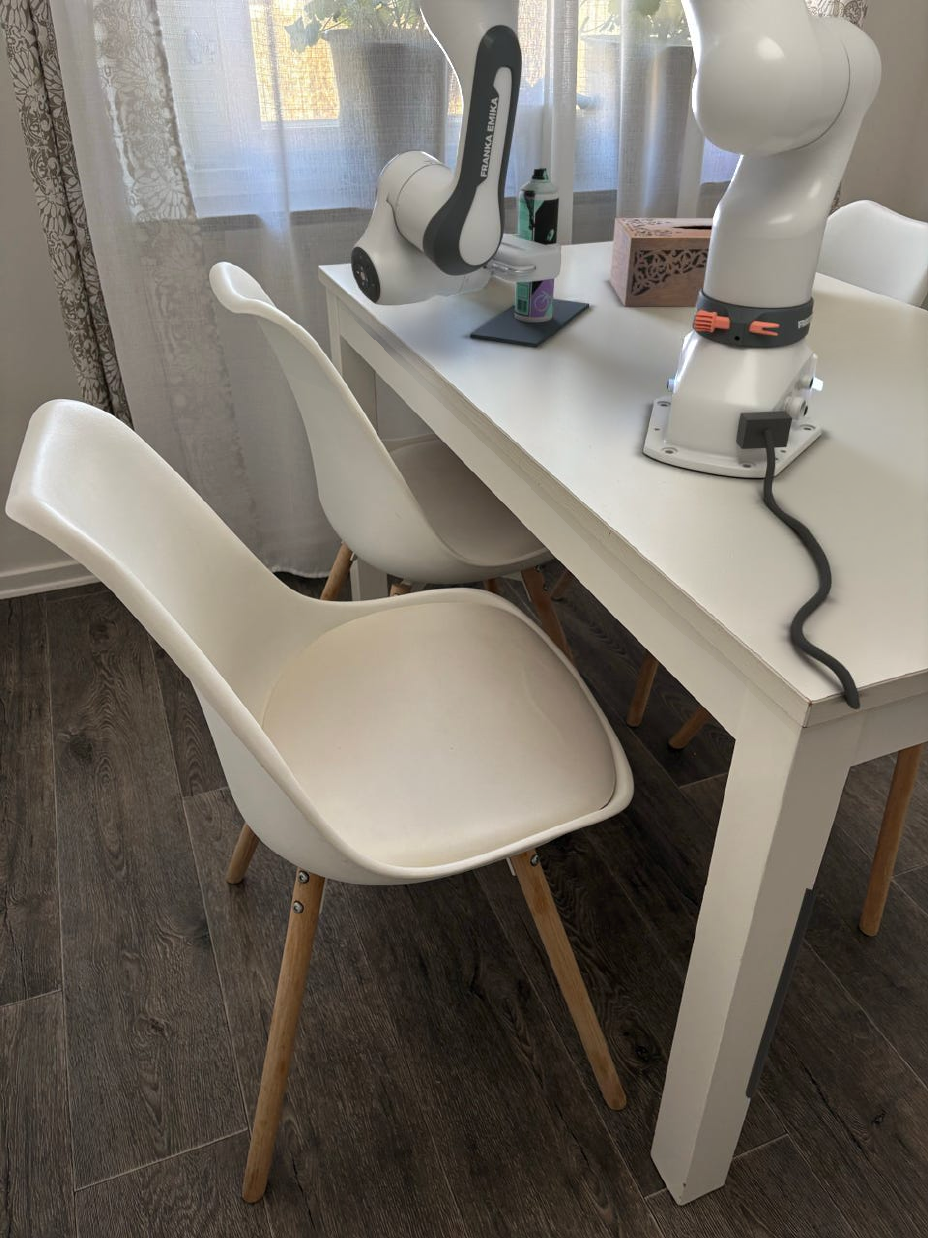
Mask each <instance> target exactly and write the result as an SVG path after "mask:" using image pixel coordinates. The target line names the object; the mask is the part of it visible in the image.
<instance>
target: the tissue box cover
mask: <svg viewBox="0 0 928 1238" xmlns="http://www.w3.org/2000/svg"><path fill="white" fill-rule="evenodd" d="M712 224H713V217H615V218H614V230H613V238H612V239H613V240H612V249H611V250H612V251H611V261H610V262H611V263H610V275H609V284H610V285H611V287H612V288H613V290H614V291H615V293H616V295H617V297H618V298H619V299H620V300H621V303H622V304H623V306H624V307H695V305H696V302H697V300H698V295H699V291H700V289H702V288H703V287H704V280H705V273H706V266H707V259H708V252H709V245H710V238H711V231H712Z"/></svg>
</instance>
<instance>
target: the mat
mask: <svg viewBox="0 0 928 1238" xmlns="http://www.w3.org/2000/svg"><path fill="white" fill-rule="evenodd" d="M588 308H590V303H589V302H580V301H574V300H573V301H572V300H567V299H566V300H565V299H557V298H553V310H552V318H551V319H550V320H548V321H545V322H525V321H521V320H518V319H516V318H515V304H514V305H512V306H510V307H509V308H507V309H506V310H505V311H503V312H502V313H500V314H498V315H497V316H495V317H494V318H492V319H490V320H489V321H487V322H486V323H485V324H483V325H481V326H479V327H478V328H476V329H475V330H474V331H472V332H471V333H470V334H469V337H470V338H472V339H478V340H479V339H480V340H485V341H493V342H500V343H505V344H511V345H520V346H526V347H533V348H538V347H539V346H540V345H542V344H543V343H544V342H545V341H547V340H549V338H551V337H552V336H553V335H554V334H556V333H557V332H558V331H560V330H561V329H562V328H564V327H565V326H566V325H568V324H569V323H570V322H571V321H573V320H574V319H575V318H576V317H577V316H579V315H580V314H581V313H583V312H584V311H586V310H587V309H588Z"/></svg>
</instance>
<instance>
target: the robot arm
mask: <svg viewBox="0 0 928 1238" xmlns="http://www.w3.org/2000/svg"><path fill="white" fill-rule="evenodd" d="M680 1H681V5H682V7H683V10H684V13H685V17H686V21H687V25H688V29H689V34H690V39H691V45H692V49H693V56H694V61H695V67H696V73H695V78H694V81H693V85H692V86H693V87H692V94H691V95H692V97H691V98H692V99H691V100H692V111H693V116H694V119H695V122H696V124H697V127H698V128H699V130H700V132H701V133H702V135H703V137H704V138H705V139H706V140H707V141H709V142H710V143H711V144H712V145H713V146H715V147H717V148H718V149H721V150H723V151H727V152H730V153H733V154H736V155H740V156H739V159H738V162H737V164H736V168H735V171H734V173H733V175H732V177H731V180H730V183H729V185H728V187H727V189H726V191H725V193H724V195H723V197H722V198H721V199H720V201H719V202H718V204H717V207H716V208H715V210H714V214H713V217H712V218H713V224H712V231H711V238H710V245H709V252H708V259H707V266H706V273H705V280H704V287H703V288H702V289H700V291H699V295H698V300H697V302H696V305H695V306H694V310H693V311H694V313H693V314H694V316H693V320H692V324H691V326H692V330H691V331H690V332H688V333H686V334H685V335H684V336H683V337H681V341H680V350H679V357H678V365H677V371H676V373H675V374H676V375H675V378H674V379H672V378H669V379H668V381H667V382H666V390H667V392H669V393H672V395H666V396H665V395H664V396H659V397H656V398H655V399H654V401H653V406H652V410H651V414H650V418H649V422H648V423H649V424H648V427H647V431H646V436H645V440H644V444H643V449H642V451H643V454H644V455H646V456H648V457H650V458H652V459H654V460H657V461H660V462H662V463H665V464H668V465H672V466H676V467H680V468H684V469H688V470H693V471H698V472H701V473H709V474H715V475H722V476H726V477H727V476H729V477H738V478H750V479H751V478H752V479H753V478H754V479H755V478H758V479H760V478H761V479H762V478H763V479H764V480H763V498H764V501H765V503H766V506H767V508H768V509H769V510H770V512H772V513H773V515H775V516H776V517H777V518H778V519H779V520H781V522H782V523H784V524H785V525H786V526H788V527H790V528H792V529H793V530H795V531H796V532H797V533H798V534H799V535H800V536H801V537H802V539H803V540H804V542H805V543H806V545H807V547H808V548H809V550H810V551H811V553H812V555H813V556H814V558H815V560H816V562H817V564H818V567H819V570H820V585H819V586H820V587H819V589H818V590H817V591H816V593H815V594H814V595H813V596H812V597H810V599H808V600H807V601H806V602H805V603H804V604H803V605H802V606H801V607H800V608H799V609H798V611H797V612H796V613H795V614H794V617H793V618H792V621H791V626H790V630H791V636H792V640H793V642H794V644H795V645H796V646H797V648H798V649H800V650H801V651H802V653H805V654H806V655H808V656H810V657H811V658H813V659H815V660H816V661H818V662H820V663H821V664H823V665H824V666H825V667H827V669H829V670H830V671H831V672H832V673H834V675H835V676H836V677H837V678H838V680H839V682H840V684H841V687H842V688H843V691H844V695H845V699H846V704H847V706H848V707H850V708H851V709H853V710H859V709H860V707H861V702H860V701H861V700H860V696H859V692H858V689H857V685H856V683H855V680H854V678H853V676H852V675H851V673H850V671H848V669H847V668H846V667H845V665H843V663H841V662H840V661H839V660H838V659H836V658H835V657H834V656H832V655H831V654H829V653H828V652H826V651H825V650H822V649H821V648H819V647H817V646H816V645H814V644H812V643H811V642H810V641H809V640H808V639H807V638H806V636H805V635H804V630H803V628H804V627H803V626H804V623H805V621H806V619H807V618H808V617H809V616H810V615H811V614H812V613H813V611H815V610H816V609H817V608H818V607H819V606H820V605H821V604H822V603H823V602H824V601H825V600H826V598H827V597H828V595H829V593H830V591H831V590H832V584H833V578H832V577H833V576H832V571H831V570H832V569H831V565H830V562H829V560H828V557H827V555H826V553H825V552H824V549H823V548H822V547H821V545H820V543H819V542H818V540H817V538H816V537H815V536H814V534H813V533H812V532H811V531H810V529H809V528H808V527H807V526H806V525H805V524H803V523H802V522H801V521H799V520H797V519H796V518H794V517H793V516H791V515H789V514H788V513H786V512H785V511H784V510H783V509H782V508H781V507H780V506H779V505H778V504H777V501H776V500H775V497H774V493H773V483H774V478H775V477H776V476H777V475H779V474H780V473H781V472H782V471H783V470H784V469H785V468H786V467H787V466H789V465H790V464H791V463H792V462H793V461H794V460H795V459H797V457H799V456H800V455H801V454H802V453H803V452H804V451H805V450H806V449H807V448H808V447H810V446H811V445H812V444H813V443H814V442H815V441H816V440H817V439H818V438H819V437H820V436H821V435H822V429H823V425H822V423H820V422H819V421H817V420H815V419H814V418H811V417H809V410H810V403H811V399H812V394H813V389H816V390H817V391H822V389H823V383H824V381H822V380H820V379H818V378H817V377H816V371H817V366H818V365H817V364H818V355H817V354H816V353H815V351H814V350H813V349H812V348H811V347H810V344H809V342H808V341H807V338H806V337H807V336H808V334H809V332H810V328H811V322H812V320H813V315H814V303H815V298H813V296H812V292H813V288H814V283H815V278H816V273H817V270H818V269H817V268H818V263H819V259H820V254H821V249H822V244H823V240H824V234H825V231H826V226H827V222H828V218H829V216H830V212H831V209H832V206H833V204H834V200H835V197H836V194H837V191H838V189H839V186H840V184H841V181H842V179H843V176H844V174H845V171H846V169H847V165H848V162H849V160H850V157H851V154H852V151H853V148H854V146H855V143H856V140H857V137H858V133H859V131H860V128H861V125H862V122H863V120H864V117H865V116H866V114H867V112H868V110H869V108H870V107H871V106H872V103H873V102H874V100H875V99H876V96H877V94H878V92H879V88H880V85H881V80H882V71H883V70H882V69H883V68H882V59H881V55H880V52H879V50H878V47H877V45H876V44H875V42H874V41H873V39H872V38H871V36H869V35H868V34H867V33H866V32H865V31H864V30H862V29H861V28H860V27H858V26H857V25H855V24H854V23H852V22H850V21H849V20H846V19H844V18H841V17H836V16H820V17H819V16H815V15H813V13H812V12H811V10H810V9H809V7H808V4H807V1H806V0H680ZM418 6H419V10H420V12H421V15H422V19H423V21H424V23H425V25H426V27H427V29H428V30H429V33H430V34H431V36H432V37H433V39H434V40H435V41H436V43H437V44H438V45H439V47H440V48H441V50H442V51H443V53H444V54H445V56H446V58H447V60H448V62H449V64H450V65H451V66H450V67H451V68H452V69H453V72H454V74H455V76H456V79H457V82H458V85H459V89H460V94H461V101H462V102H461V103H462V104H461V105H462V109H461V120H460V127H459V136H458V141H457V149H456V157H455V165H454V171H453V170H452V169H451V168H450V167H448V166H447V165H445V164H444V163H442V161H439V160H438V159H436V158H435V157H434V156H432V155H430V154H428V153H427V152H426V151H424V150H420V149H410V150H409V149H408V150H405V151H403V152H401V153H399V154H397V155H396V156H394V157H393V158H392V159H390V161H388V162H387V163H386V165H385V166H384V167H383V169H382V171H381V172H380V174H379V176H378V179H377V183H376V187H375V188H376V189H375V204H374V207H373V211H372V214H371V218H370V220H369V222H368V225H367V228H366V230H365V232H364V233H363V234H362V236H361V237H360V238H359V239H358V241H357V242H356V243H355V244H354V245H353V248H352V249H351V254H350V267H351V272H352V276H353V279H354V280H355V283H356V285H357V287H358V289H359V290H360V291H361V293H362V294H363V295H364V296H365V297H366V298H367V299H368V300H369V301H371V302H372V303H373V304H375V305H378V306H387V307H388V306H402V305H410V304H416V303H422V302H426V301H428V300H431V299H433V298H434V297H436V296H437V297H438V296H442V297H453V296H458V295H462V294H467V293H473V292H477V291H481V290H483V289H484V288H485V287H486V286H487V285H488V283H489V282H490V279H491V277H493V276H494V277H497V278H500V279H503V280H505V281H509V282H513V283H516V282H532V281H540V280H547V279H553V278H554V279H556V278H558V276H560V273H561V265H562V244H560V243H557V242H556V243H554V242H551V243H545V245H544V244H540V243H537V242H533V241H530V240H526V239H523V238H519V237H518V233H514V234H513V233H505V224H506V211H505V209H506V208H505V207H506V206H505V191H506V182H507V176H508V175H507V174H508V170H509V161H510V156H511V150H512V143H513V137H514V130H515V125H516V124H515V123H516V117H517V111H518V104H519V99H520V98H519V97H520V90H521V81H522V71H523V54H522V53H523V52H522V47H521V43H520V39H519V10H520V0H418ZM817 894H818V890H814V889H811V888H809V887H806V888H805V891H804V894H803V898H802V901H801V905H800V908H799V913H798V916H797V920H796V923H795V926H794V929H793V933H792V935H791V940H790V943H789V946H788V949H787V952H786V956H785V960H784V962H783V966H782V969H781V973H780V976H779V979H778V982H777V986H776V988H775V989H776V990H775V992H774V994H773V998H772V1002H771V1005H770V1007H769V1012H768V1015H767V1018H766V1021H765V1025H764V1028H763V1031H762V1034H761V1038H760V1041H759V1045H758V1047H757V1051H756V1054H755V1057H754V1060H753V1061H754V1062H753V1065H752V1069H751V1072H750V1075H749V1079H748V1082H747V1086H746V1090H745V1096H746V1097H747V1098H748V1099H751V1100H752V1099H754V1098H755V1095H756V1092H757V1089H758V1086H759V1083H760V1079H761V1075H762V1072H763V1069H764V1066H765V1063H766V1060H767V1059H766V1058H767V1055H768V1053H769V1049H770V1045H771V1043H772V1039H773V1036H774V1033H775V1030H776V1027H777V1025H778V1021H779V1018H780V1013H781V1011H782V1007H783V1005H784V1002H785V998H786V995H787V993H788V989H789V987H790V982H791V980H792V976H793V973H794V971H795V966H796V963H797V961H798V957H799V954H800V950H801V947H802V944H803V941H804V937H805V934H806V931H807V928H808V924H809V921H810V918H811V915H812V912H813V908H814V904H815V901H816V898H817Z"/></svg>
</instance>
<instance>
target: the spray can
mask: <svg viewBox="0 0 928 1238" xmlns="http://www.w3.org/2000/svg"><path fill="white" fill-rule="evenodd" d="M519 190H520V191H519V193H518V195H519V196H518V217H517V218H518V221H517V234H518V237H519V238H523V239H526V240H530V241H533V242H537V243H540V244H544V245H545V243H551V242H554V243H557V241H558V222H559V205H560V204H559V203H560V192H559V190H560V188H559V186H557V185H556V184H554V183H553V182H552V181H551V178H550V177H549V175H548V174H547V168H546V167H539V168H535V169H533V174H531V177H529V180H528V181H527V182H526V183H524V184H523V185H521V186H520V188H519ZM554 288H555V278H553V279H547V280H540V281H532V282H515V297H514V298H515V299H514V301H515V302H514V305H515V318H516V319H518V320H521V321H525V322H545V321H548V320H550V319H551V318H552V310H553V299H554V290H555V289H554Z"/></svg>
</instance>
